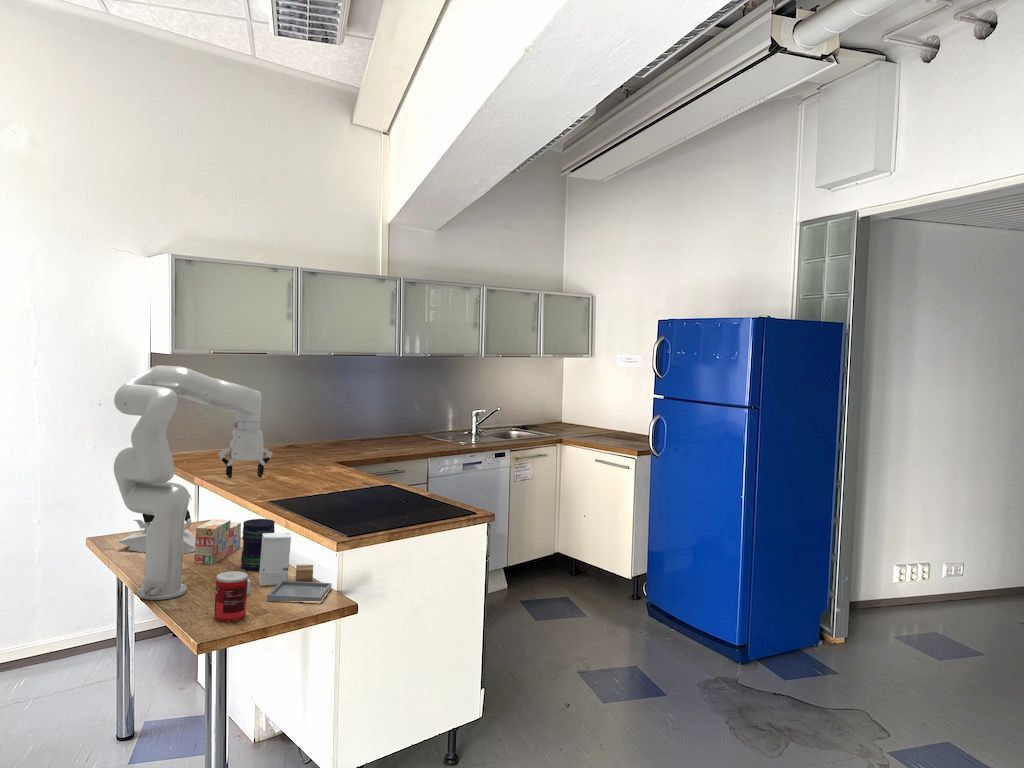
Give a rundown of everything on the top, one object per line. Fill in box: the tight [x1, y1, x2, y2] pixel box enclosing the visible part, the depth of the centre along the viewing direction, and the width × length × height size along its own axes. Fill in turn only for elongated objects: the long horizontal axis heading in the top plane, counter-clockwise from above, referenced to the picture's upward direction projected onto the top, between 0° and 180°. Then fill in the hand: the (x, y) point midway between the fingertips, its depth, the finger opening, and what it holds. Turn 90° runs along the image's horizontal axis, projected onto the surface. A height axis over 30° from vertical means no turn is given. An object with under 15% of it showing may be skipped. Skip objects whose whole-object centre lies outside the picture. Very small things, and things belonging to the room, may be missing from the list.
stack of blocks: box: [194, 518, 242, 565], centre depth 229 cm, size 21×6×12 cm, turn 179°
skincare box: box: [258, 532, 292, 587], centre depth 205 cm, size 8×6×15 cm
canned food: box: [213, 570, 249, 623], centre depth 176 cm, size 8×8×11 cm
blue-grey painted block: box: [247, 578, 252, 595], centre depth 196 cm, size 8×4×4 cm, turn 35°
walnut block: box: [295, 564, 314, 582], centre depth 206 cm, size 5×5×5 cm
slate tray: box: [266, 580, 333, 602], centre depth 196 cm, size 13×15×2 cm
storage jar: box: [240, 518, 276, 573], centre depth 219 cm, size 10×10×15 cm
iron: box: [118, 508, 196, 554], centre depth 233 cm, size 11×24×15 cm, turn 93°
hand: (244, 477), depth 225 cm, fingers open, 9 cm apart
